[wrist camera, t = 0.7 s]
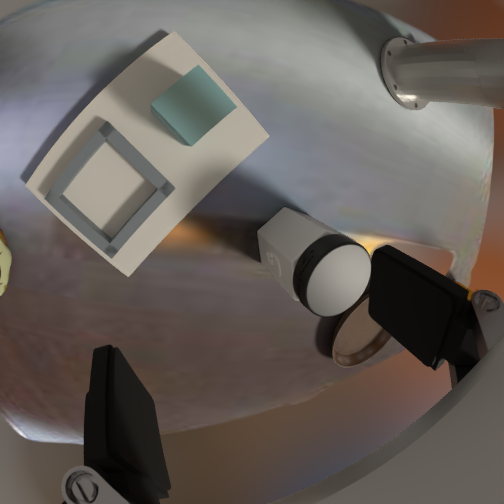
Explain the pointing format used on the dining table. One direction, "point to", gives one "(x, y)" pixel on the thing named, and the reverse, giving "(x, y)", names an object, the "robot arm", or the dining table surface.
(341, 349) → the plant saucer
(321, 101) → the dining table surface
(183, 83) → the teal block
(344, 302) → the jar
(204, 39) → the dining table surface
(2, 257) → the decorated donut
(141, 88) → the board
